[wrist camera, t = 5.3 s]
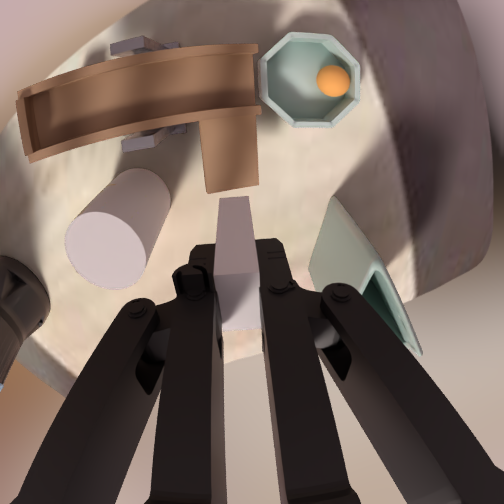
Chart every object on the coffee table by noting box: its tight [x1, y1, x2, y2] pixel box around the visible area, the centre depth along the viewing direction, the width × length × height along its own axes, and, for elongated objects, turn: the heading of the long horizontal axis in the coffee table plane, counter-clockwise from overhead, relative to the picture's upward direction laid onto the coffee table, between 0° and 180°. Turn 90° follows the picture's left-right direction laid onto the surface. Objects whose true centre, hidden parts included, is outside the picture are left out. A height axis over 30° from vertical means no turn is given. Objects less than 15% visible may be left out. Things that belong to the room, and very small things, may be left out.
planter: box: [308, 196, 423, 356], centre depth 31 cm, size 16×8×20 cm, turn 32°
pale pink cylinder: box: [65, 168, 171, 290], centre depth 28 cm, size 8×8×12 cm
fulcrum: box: [110, 36, 187, 152], centre depth 23 cm, size 5×10×10 cm, turn 3°
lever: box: [16, 44, 261, 194], centre depth 21 cm, size 20×13×3 cm
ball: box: [316, 65, 350, 97], centre depth 25 cm, size 4×4×4 cm
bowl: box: [257, 32, 360, 128], centre depth 26 cm, size 10×10×4 cm
